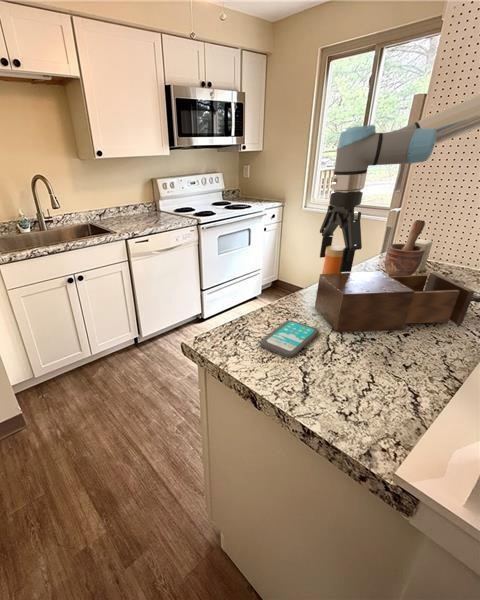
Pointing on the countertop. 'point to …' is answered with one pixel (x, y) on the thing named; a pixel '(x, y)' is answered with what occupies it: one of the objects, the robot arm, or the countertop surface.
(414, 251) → the mortar and pestle
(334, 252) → the spice jar
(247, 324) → the countertop surface
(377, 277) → the cabinet
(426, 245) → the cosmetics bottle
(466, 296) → the drawer
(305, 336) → the smartphone
